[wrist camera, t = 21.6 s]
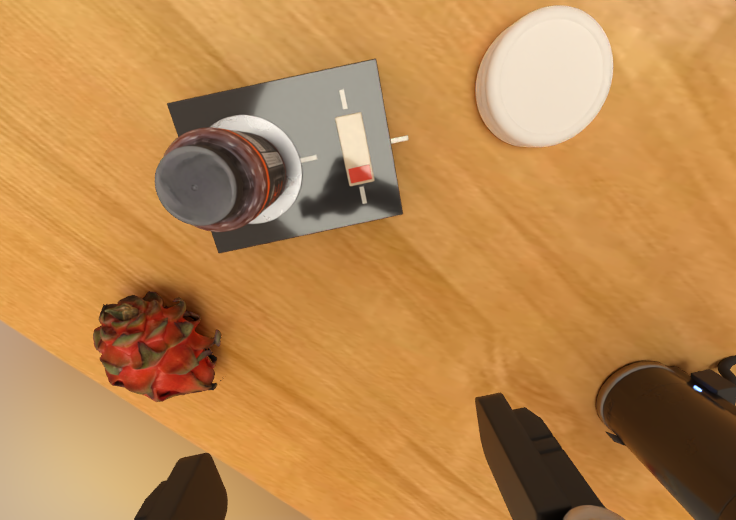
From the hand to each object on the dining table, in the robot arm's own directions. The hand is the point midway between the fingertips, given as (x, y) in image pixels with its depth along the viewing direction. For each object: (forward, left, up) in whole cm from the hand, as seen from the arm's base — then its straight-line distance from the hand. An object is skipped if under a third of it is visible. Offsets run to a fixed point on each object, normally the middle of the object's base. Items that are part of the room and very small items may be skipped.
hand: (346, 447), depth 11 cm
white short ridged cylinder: (-18, -10, -25) cm, 33 cm away
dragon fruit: (+18, +5, -25) cm, 31 cm away
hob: (+3, -8, -25) cm, 26 cm away
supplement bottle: (+6, -8, -22) cm, 24 cm away
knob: (-2, -8, -22) cm, 23 cm away
